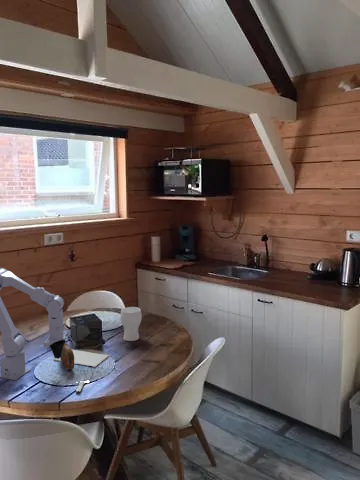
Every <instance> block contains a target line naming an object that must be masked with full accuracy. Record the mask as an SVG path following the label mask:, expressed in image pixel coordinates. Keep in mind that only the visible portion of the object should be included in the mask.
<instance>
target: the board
mask: <svg viewBox="0 0 360 480" xmlns="http://www.w3.org/2000/svg"><path fill="white" fill-rule="evenodd" d="M71 350H72V351H73V354H74V363H77V364H82V365H87V366H86V367H88V366H94V367H95V368H97V367H98V366H99V365H101V362H102V361H103V362H105V361H106V360H107V359H108V358H109V357H110V355H109V354H102V353H96V352H89V351H85V350H84V351H83V350H77V349H73V348H71ZM106 358H107V359H106ZM53 361H56V362H59V361H60V363H62V362H61V359H60V358H59V359H57V358H53ZM103 362H102V363H103ZM98 364H99V365H98ZM82 365H81V366H82ZM97 365H98V366H97ZM96 366H97V367H96ZM94 367H93V368H94Z"/></svg>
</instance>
